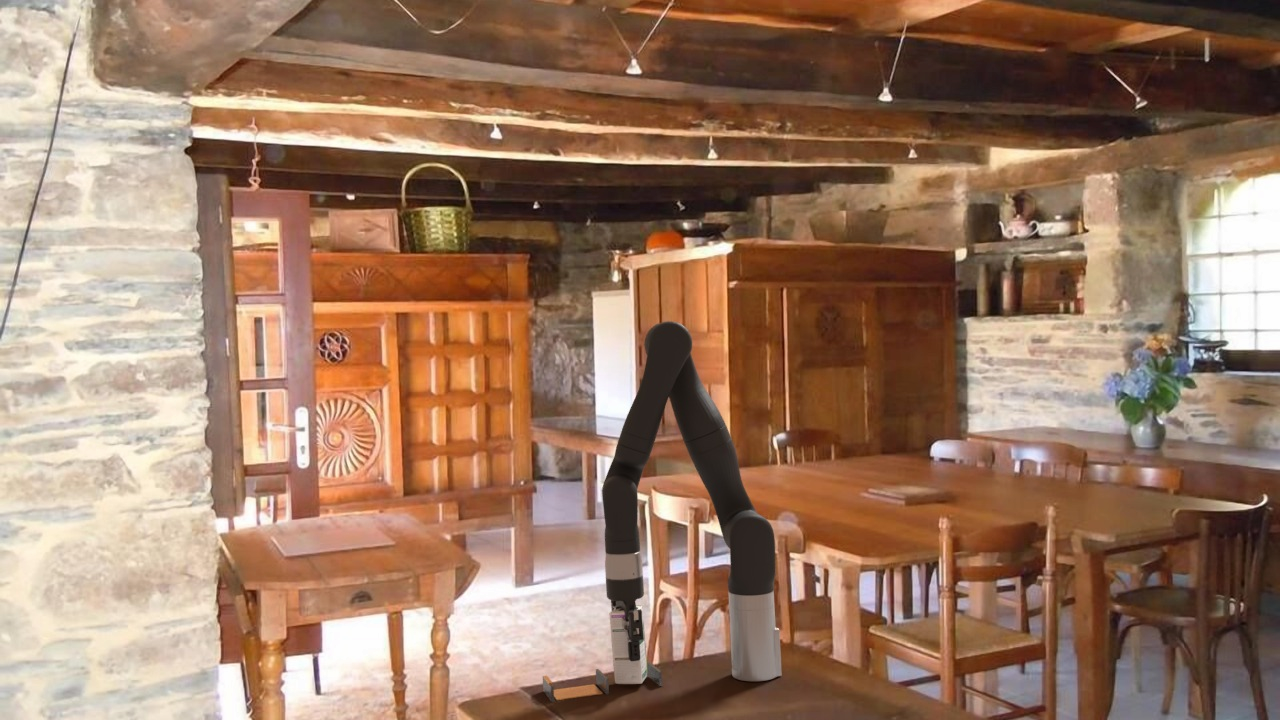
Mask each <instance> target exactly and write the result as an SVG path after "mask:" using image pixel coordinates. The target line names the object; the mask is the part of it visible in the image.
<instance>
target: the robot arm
mask: <svg viewBox="0 0 1280 720" xmlns="http://www.w3.org/2000/svg"><path fill="white" fill-rule="evenodd" d="M643 346H644V351H645V354H646V361H645V365H644V372H643V375H642V379H641V382H640V383H639V387H638V390H637V393H636V396H635V397H634V399H633V402H632V403H631V406H630V408H629V411H628V413H627V414H626V418H625V420H624V423H623V425H622V428H621V431H620V434H619V437H618V440H617V445H616V447H615V452H614V455H613V459H612V460H611V463H610V466H609V468H608V471H607V473H606V476H605V479H604V481H603V485H602V489H601V495H602V496H601V497H602V506H603V516H604V517H603V518H604V524H605V528H604V529H605V530H604V548H605V549H604V550H605V560H604V574H605V586H606V589H605V591H606V598H607V599H608V600H609V601H610V603H611V604H610V606H611V611H612V610H613V609H619V608H620V609H619V610H618V611H622V610H624V613H625V618H624V617H623V616H621V615H620V616H621V618H622V628H623V631H624V632H625V633H626V635H627V641H628V654H629V660H630V661H638V660H640V642H639V641H641V640H643V623H642V611H641V609H639V610H637V609H638V608H637V607H636V605H637V604H636V601H637V600H638V599H641V598H643V597H644V595H645V592H644V591H645V590H644V573H643V572H644V571H643V559H642V554H641V541H640V531H639V525H638V524H639V523H638V522H639V521H638V516H639V515H638V514H639V509H638V508H639V506H638V505H639V504H638V503H639V499H638V498H639V497H638V488H639V484H640V481H641V478H642V474H643V471H644V469H645V466H646V465H647V463H648V462H649V459H650V456H651V454H652V451H653V449H654V448H653V447H654V445H655V441H656V438H657V435H658V432H659V429H660V425H661V421H662V418H663V416H664V413H665V409H666V405H667V403H668V400H669V401H670V405H671V409H672V412H673V414H674V415H673V416H674V418H675V421H676V424H677V426H678V429H679V431H680V435H681V438H682V442H683V443H684V445H685V447H686V450H687V453H688V455H689V457H690V459H691V461H692V463H693V465H694V467H695V469H696V472H697V473H698V476H699V477H700V479H701V482H702V483H703V485H704V488H705V489H706V491H707V493H708V494H709V497H710V499H711V502H712V505H713V508H714V511H715V514H716V517H717V520H718V521H717V522H718V524H719V527H720V530H721V535H722V538H723V540H724V543H725V545H726V546H727V548H728V549H729V553H730V554H729V555H730V556H729V557H730V558H729V559H730V560H729V561H730V574H729V577H728V578H727V587H728V589H727V590H728V610H729V611H728V612H729V613H728V614H729V632H730V636H729V637H730V654H731V658H730V659H731V672H732V673H731V675H732V677H733V678H734V679H736V680H739V681H744V682H764V681H769V680H773V679H775V678H777V677H782V656H781V655H782V654H781V636H780V635H781V634H780V632H781V631H780V628H778V627H776V615H775V613H776V612H775V611H776V610H775V594H774V593H775V591H774V589H775V587H774V583H775V578H776V539H775V533H774V529H773V526H772V524H771V523H770V522H769V520H767V518H765V517H764V516H762V515H761V514H759V512H758V511H757V510H756V508H755V506H754V505H753V503H752V501H751V499H750V497H749V494H748V493H747V491H746V488H745V486H744V483H743V480H742V476H741V471H740V465H739V460H738V456H737V451H736V448H735V444H734V442H733V438H732V437H731V434H730V431H729V429H728V426H727V425H726V422H725V420H724V418H723V415H722V414H721V412H720V410H719V408H718V406H717V405H716V403H715V401H714V400H713V399H712V396H711V395H710V394H709V392H708V391H707V389H706V388H705V386H704V384H703V383H702V381H701V378H700V376H699V373H698V371H697V369H696V365H695V362H694V360H693V357H692V353H691V352H692V349H693V338H692V335H691V333H690V331H689V330H688V329H687V327H686V326H684V325H683V324H682V323H679V322H677V321H671V320H670V321H669V320H668V321H663V322H659V323H656V324H655V325H653V326H652V327H651V328H650V329H649V330H648V331H647V333H646V335H645V338H644V343H643ZM625 621H626V622H628V621H629V626H627V625H626V623H625ZM635 621H636V622H635ZM633 630H636V634H635V635H634V634H633Z"/></svg>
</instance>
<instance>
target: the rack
mask: <svg viewBox="0 0 1280 720" xmlns="http://www.w3.org/2000/svg"><path fill="white" fill-rule="evenodd" d="M647 670H648V675H647V678H649V679H650V678H651V679H652V680H653V681H654V684H655V685H657V684H658V685H659V686H662V687H663V677H662V670H660V669H659V668H658V667H657V666H655V665H654V664H653V663H651V662H650V661H647ZM595 679H596V680H595V682H596V685H597V686H598V687H597V686H596V685H595V684H594V683H593V684H586V685H580V686H571V687H565V688H556V689H555V688H554V685H553V681H552V680H551V679H550V677H549V676H548V675H543V676H542V691H543V693H544V695H546V697H547V698H548V699H549V701H550V702H551V703H554V702H555V700H556V701H561V700H562V701H563V700H568V699H576V698H583V697H591V696H597V695H603V692H604V693H605V694H606V695H609V694H610V690H609V687H610V686H609V678H608V677H607V676H606V675H605V674H604V673H603V672H602V671H601V670H600V669H599V668H596V669H595ZM651 679H650V680H651ZM652 680H651V681H652ZM653 681H652V682H653ZM658 685H657V686H658ZM659 686H658V687H659ZM599 688H600V689H599Z"/></svg>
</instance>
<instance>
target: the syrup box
mask: <svg viewBox="0 0 1280 720" xmlns="http://www.w3.org/2000/svg"><path fill="white" fill-rule="evenodd" d="M636 607H637V608H638V609H637V610H639V609H641V611H642V623H643V640H641V641H639V642H640V660H638V661H630V660H629V654H628V641H627V635H626V633H625V632H624V631H623V628H622V618H621V616H623V617H624V618H625V613H624V610H622V611H618V610H619V609H620V608H619V609H613V610H612V609H611V611H610V612H609V625H610V627H609V628H610V638H611V641H610V642H611V652H612V664H613V675H614V678H613V679H614V684H618V685H637V684H638V685H640V684H643V682H644V681H645V679H646V678H648V665H647V662H648V661H647V660H648V659H647V658H648V657H647V649H646V648H647V646H646V635H645V634H646V633H645V632H646V631H645V624H644V623H645V622H644V621H645V620H644V611H643V606H642V605H639V604H636ZM620 615H621V616H620ZM635 622H636V621H635ZM625 623H626V625H627V626H629V621H628V622H626V621H625ZM633 634H634V635H635V634H636V630H633Z"/></svg>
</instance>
